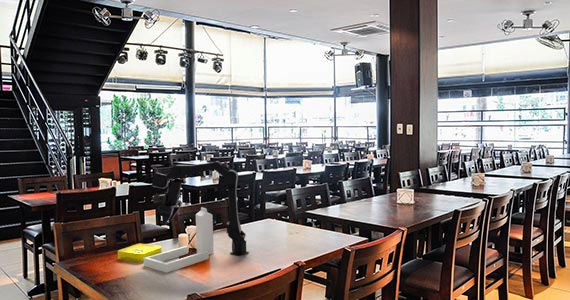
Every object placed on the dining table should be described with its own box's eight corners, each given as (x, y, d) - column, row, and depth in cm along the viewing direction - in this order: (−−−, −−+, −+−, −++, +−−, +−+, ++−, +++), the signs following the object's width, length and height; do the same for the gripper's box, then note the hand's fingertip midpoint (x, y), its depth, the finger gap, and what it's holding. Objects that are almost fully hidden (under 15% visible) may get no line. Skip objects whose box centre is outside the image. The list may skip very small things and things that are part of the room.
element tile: (163, 254, 211) (163, 245, 211) (140, 263, 197) (140, 253, 197) (139, 251, 217) (139, 242, 217) (116, 260, 204) (115, 250, 203)
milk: (202, 256, 206) (200, 209, 205) (196, 253, 211) (195, 207, 210) (213, 253, 210) (212, 207, 208) (208, 250, 215) (206, 206, 213)
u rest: (208, 258, 201) (208, 251, 201) (166, 272, 183) (166, 264, 183) (186, 253, 211) (185, 246, 211) (143, 265, 193) (143, 258, 193)
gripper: (163, 184, 217) (156, 215, 217) (150, 189, 198) (143, 223, 199) (185, 189, 216) (178, 220, 217) (174, 195, 198) (167, 228, 199)
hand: (166, 223), depth 208 cm, fingers open, 9 cm apart
